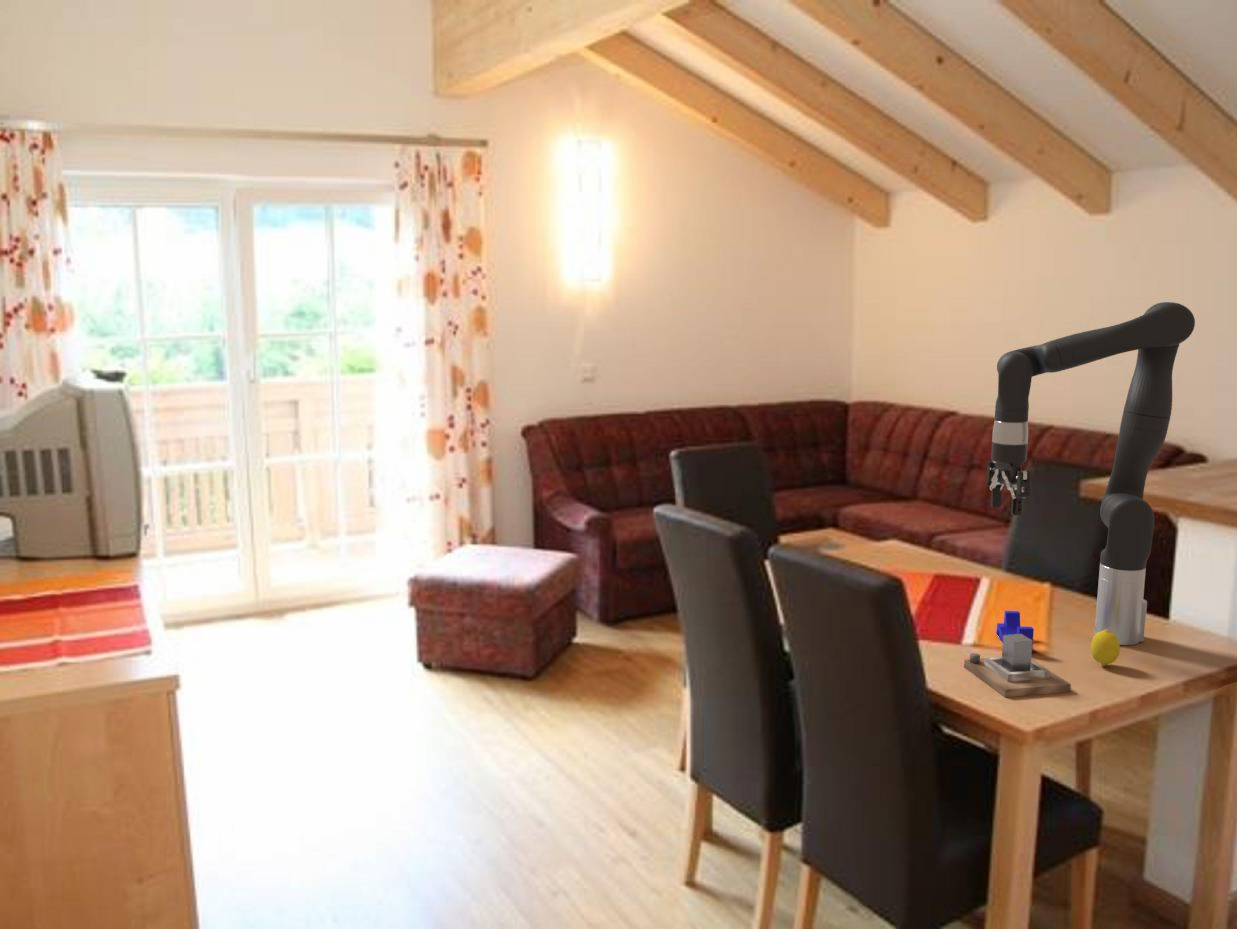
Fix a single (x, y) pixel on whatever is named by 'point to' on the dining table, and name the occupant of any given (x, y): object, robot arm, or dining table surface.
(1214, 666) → the dining table surface
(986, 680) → the door panel
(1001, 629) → the cable clip
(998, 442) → the robot arm
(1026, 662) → the hinge block
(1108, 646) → the lemon
